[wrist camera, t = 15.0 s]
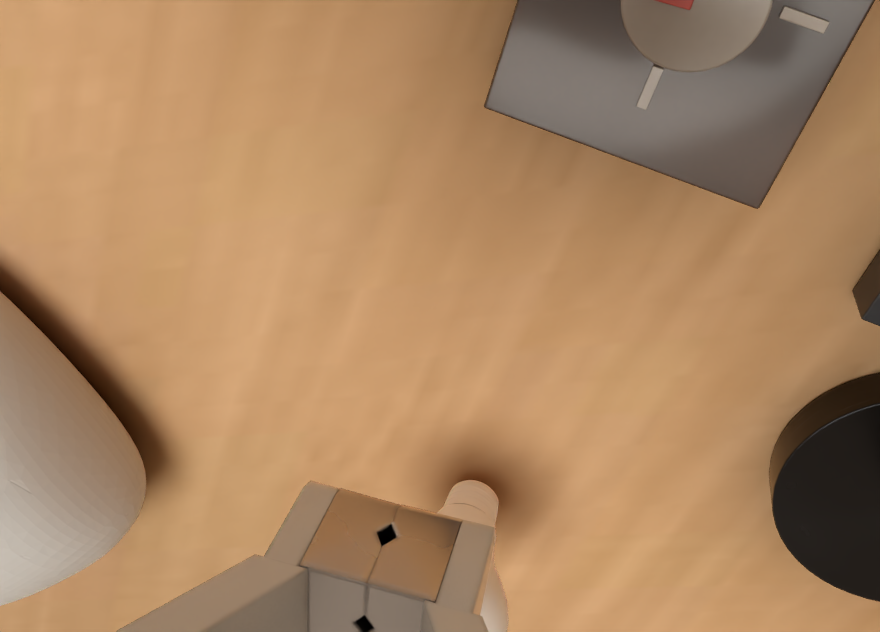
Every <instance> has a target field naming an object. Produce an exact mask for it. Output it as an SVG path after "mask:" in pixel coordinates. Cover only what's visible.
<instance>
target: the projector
mask: <svg viewBox="0 0 880 632" xmlns="http://www.w3.org/2000/svg"><path fill="white" fill-rule="evenodd" d="M145 493H146V473H145V469H144V465H143V461H142V459H141V456H140V453H139V451H138V449H137V447H136V446H135V444H134V442H133V440H132V438H131V437H130V435H129V434H128V432H127V431H126V429H125V428H124V426H123V425H122V423H121V422H120V421H119V419H118V418H117V417H116V415H115V414H114V413H113V412H112V410H111V409H110V408H109V406H108V405H107V404H106V403H105V401H104V400H103V399H102V398H101V397H100V395H99V394H98V393H97V392H96V391H95V390H94V388H93V387H92V386H91V385H90V384H89V383H88V381H87V380H86V379H85V378H84V377H83V376H82V375H81V373H80V372H79V371H78V370H77V369H76V368H75V367H74V366H73V365H72V363H71V362H70V361H69V360H68V359H67V358H66V357H65V356H64V355H63V354H62V353H61V352H60V350H59V349H58V348H57V347H56V346H55V345H54V344H53V343H52V342H51V341H50V340H49V339H48V338H47V337H46V336H45V335H44V334H43V333H42V331H41V330H39V329H38V328H37V327H36V326H35V325H34V324H33V323H32V322H31V321H30V320H29V319H28V318H27V317H26V316H25V315H24V314H23V313H22V312H21V311H20V310H19V309H18V308H17V307H16V306H15V305H14V304H13V303H12V302H11V301H10V300H9V299H8V298H7V297H6V296H5V295H4V294H3V293H2V292H0V606H1V605H4V604H8V603H11V602H14V601H17V600H20V599H22V598H25V597H28V596H30V595H33V594H35V593H37V592H40V591H42V590H44V589H46V588H48V587H50V586H53V585H55V584H57V583H59V582H61V581H63V580H65V579H67V578H68V577H70V576H72V575H74V574H76V573H78V572H79V571H81V570H83V569H85V568H86V567H88V566H90V565H91V564H93V563H94V562H96V561H97V560H98V559H100V558H101V557H103V556H104V555H105V554H106V553H107V552H109V551H110V550H111V549H112V548H113V547H114V546H115V545H116V544H117V543H118V542H119V541H120V540H121V539H122V537H123V536H124V535H125V534H126V533H127V532H128V530H129V529H130V528H131V526H132V525H133V523H134V522H135V520H136V519H137V517H138V515H139V513H140V511H141V509H142V506H143V503H144V499H145Z"/></svg>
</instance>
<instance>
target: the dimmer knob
mask: <svg viewBox="0 0 880 632" xmlns="http://www.w3.org/2000/svg"><path fill="white" fill-rule="evenodd" d="M772 3H773V0H621V14H622V19H623V23H624V27H625V29H626V32H627V34H628V36H629V38H630V40H631V41H632V43H633V44H634V46H635V47H636V48H637V49H638V51H639V52H640V53H641V54H643V55H644V56H645V57H646V58H647V59H649V60H650V61H651V62H653V63H655V64H657V65H659V66H661V67H663V68H666V69H669V70H673V71H678V72H700V71H706V70H710V69H713V68H716V67H719V66H721V65H723V64H726V63H727V62H729V61H731V60H733V59H734V58H736V57H737V56H738V55H740V54H741V53H742V52H744V51H745V50H746V49H747V48H748V47H749V46H750V45H751V44H752V42H753V41H754V40H755V39H756V38H757V36H758V35H759V33H760V32H761V30H762V29H763V27H764V25H765V23H766V21H767V19H768V16H769V13H770V11H771V7H772Z"/></svg>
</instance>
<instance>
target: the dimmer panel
mask: <svg viewBox="0 0 880 632" xmlns="http://www.w3.org/2000/svg"><path fill="white" fill-rule="evenodd" d="M874 1H875V0H773V3H772V7H771V11H770V13H769V16H768V19H767V21H766V23H765V25H764V27H763V29H762V30H761V32H760V33H759V35H758V36H757V38H756V39H755V40H754V41H753V42H752V44H751V45H750V46H749V47H748V48H747V49H746V50H745V51H744V52H742V53H741V54H740V55H738V56H737V57H736V58H734V59H733V60H731V61H729V62H727V63H726V64H723V65H721V66H719V67H716V68H713V69H710V70H706V71H700V72H678V71H673V70H669V69H666V68H663V67H661V66H659V65H657V64H655V63H653V62H651V61H650V60H649V59H647V58H646V57H645V56H644V55H643V54H641V53H640V52H639V51H638V49H637V48H636V47H635V46H634V44H633V43H632V41H631V40H630V38H629V36H628V34H627V32H626V29H625V27H624V23H623V19H622V14H621V0H518V1H517V4H516V7H515V10H514V13H513V16H512V19H511V23H510V26H509V29H508V32H507V35H506V38H505V41H504V45H503V48H502V51H501V54H500V57H499V60H498V63H497V67H496V70H495V73H494V76H493V79H492V82H491V85H490V89H489V92H488V95H487V98H486V101H485V104H484V107H485V108H487V109H489V110H492V111H495V112H497V113H500V114H503V115H506V116H508V117H511V118H514V119H516V120H519V121H522V122H524V123H527V124H530V125H532V126H535V127H538V128H541V129H543V130H546V131H549V132H551V133H554V134H557V135H559V136H562V137H565V138H567V139H570V140H573V141H576V142H578V143H581V144H584V145H586V146H589V147H592V148H594V149H597V150H600V151H602V152H605V153H608V154H611V155H613V156H616V157H619V158H621V159H624V160H627V161H629V162H632V163H635V164H637V165H640V166H643V167H646V168H648V169H651V170H654V171H656V172H659V173H662V174H664V175H667V176H670V177H672V178H675V179H678V180H681V181H683V182H686V183H689V184H691V185H694V186H697V187H699V188H702V189H705V190H707V191H710V192H713V193H716V194H718V195H721V196H724V197H726V198H729V199H732V200H734V201H737V202H740V203H742V204H745V205H748V206H751V207H753V208H756V209H758V208H759V207H760V206H761V204H762V202H763V200H764V199H765V197H766V195H767V193H768V191H769V190H770V188H771V186H772V184H773V182H774V181H775V179H776V177H777V175H778V174H779V172H780V170H781V168H782V166H783V165H784V163H785V161H786V159H787V157H788V156H789V154H790V152H791V150H792V148H793V147H794V145H795V143H796V141H797V139H798V138H799V136H800V134H801V132H802V130H803V129H804V127H805V125H806V123H807V121H808V120H809V118H810V116H811V114H812V113H813V111H814V109H815V107H816V105H817V104H818V102H819V100H820V98H821V96H822V95H823V93H824V91H825V89H826V87H827V86H828V84H829V82H830V80H831V78H832V77H833V75H834V73H835V71H836V69H837V68H838V66H839V64H840V62H841V61H842V59H843V57H844V55H845V53H846V52H847V50H848V48H849V46H850V44H851V43H852V41H853V39H854V37H855V35H856V34H857V32H858V30H859V28H860V26H861V25H862V23H863V21H864V19H865V17H866V16H867V14H868V12H869V10H870V8H871V7H872V5H873V3H874Z"/></svg>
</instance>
